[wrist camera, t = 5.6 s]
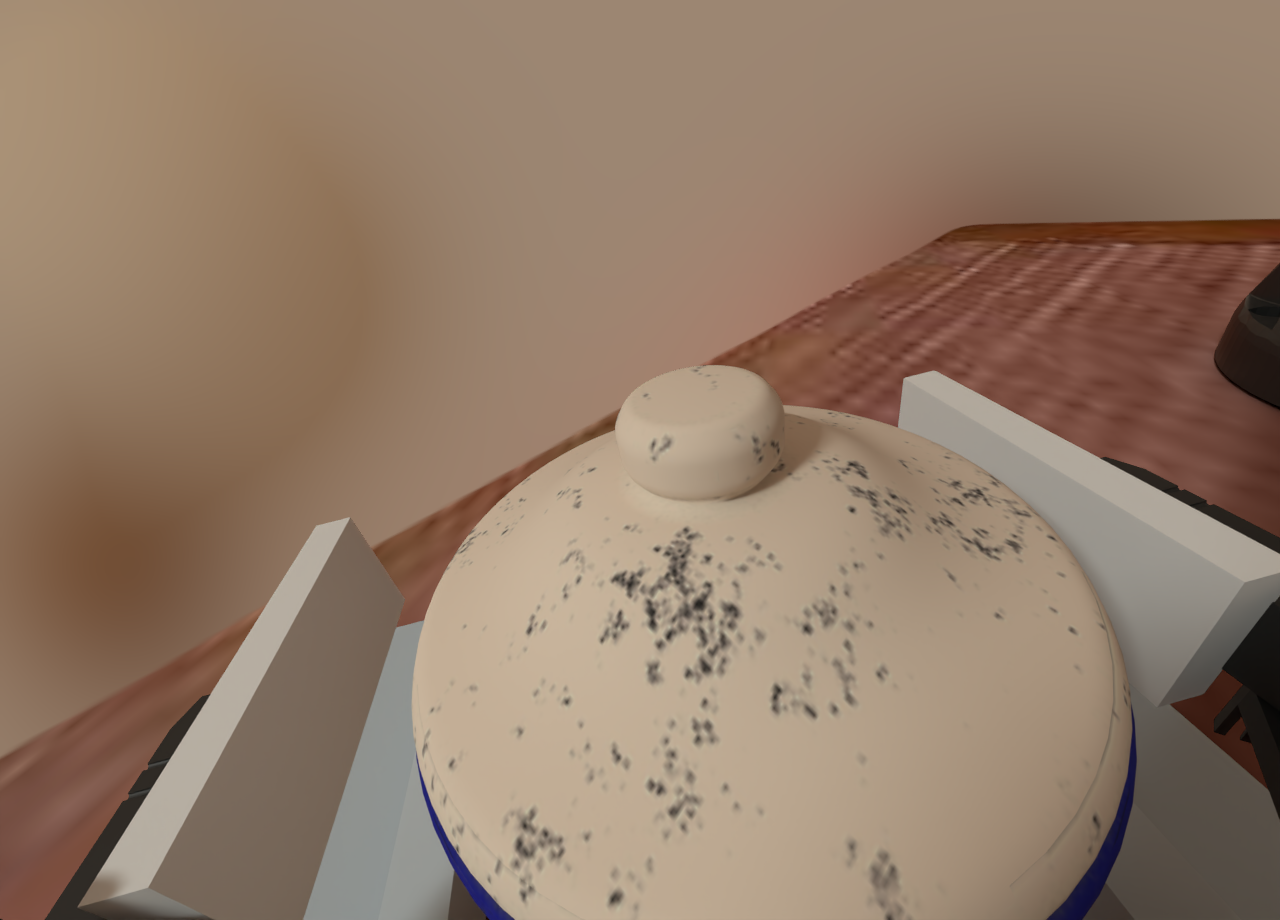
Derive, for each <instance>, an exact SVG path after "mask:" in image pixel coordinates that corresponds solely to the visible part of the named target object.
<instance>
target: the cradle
mask: <svg viewBox="0 0 1280 920" xmlns="http://www.w3.org/2000/svg"><path fill="white" fill-rule="evenodd" d="M423 624H424V621H420V622H417V623H413V624H409V625H405V626H401V627H397V628H396V629H395V632H394V636H393V639H392V642H391V645H390V648H389V651H388V654H387V658H386V661H385V664H384V667H383V670H382V673H381V676H380V679H379V683H378V686H377V689H376V692H375V695H374V698H373V701H372V705H371V708H370V711H369V714H368V717H367V720H366V723H365V727H364V730H363V733H362V736H361V739H360V742H359V745H358V749H357V752H356V755H355V758H354V761H353V764H352V767H351V771H350V774H349V777H348V780H347V783H346V786H345V789H344V793H343V796H342V799H341V802H340V805H339V808H338V811H337V815H336V818H335V821H334V824H333V827H332V830H331V833H330V837H329V840H328V843H327V846H326V849H325V852H324V855H323V859H322V862H321V865H320V868H319V871H318V874H317V877H316V881H315V884H314V887H313V890H312V893H311V896H310V899H309V903H308V906H307V909H306V912H305V915H304V918H303V920H486V915H485V914H484V913H483V911H482V910H481V909H480V908H479V907H478V905H477V904H476V903H475V902H474V900H473V899H472V897H471V895H470V894H469V892H468V891H467V889H466V888H465V886H464V884H463V883H462V881H461V880H460V878H459V877H458V875H457V873H456V872H455V870H454V869H453V867H452V865H451V864H450V861H449V859H448V857H447V855H446V853H445V851H444V849H443V846H442V844H441V842H440V840H439V838H438V836H437V834H436V831H435V829H434V827H433V824H432V820H431V817H430V814H429V811H428V808H427V805H426V802H425V798H424V795H423V792H422V786H421V781H420V776H419V770H418V765H417V760H416V747H415V741H414V736H413V721H412V706H411V705H412V685H413V673H414V667H415V660H416V654H417V648H418V643H419V638H420V635H421V631H422V627H423ZM1128 683H1129V682H1128ZM1129 688H1130V697H1131V704H1132V709H1133V714H1134V719H1135V734H1136V751H1137V767H1136V777H1135V787H1134V797H1133V805H1132V809H1131V813H1130V817H1129V820H1128V824H1127V828H1126V832H1125V835H1124V839H1123V843H1122V847H1121V850H1120V852H1119V854H1118V856H1117V859H1116V861H1115V863H1114V865H1113V867H1112V869H1111V872H1110V874H1109V876H1108V878H1107V880H1106V883H1105V885H1104V887H1103V889H1102V891H1101V893H1100V895H1099V897H1098V898H1097V899H1096V901H1095V902H1094V904H1093V905H1092V907H1091V908H1090V910H1089V911H1088V912H1087V914H1086V915H1085V917H1084V918H1083V920H1280V820H1279V817H1278V814H1277V812H1276V809H1275V806H1274V803H1273V801H1272V798H1271V795H1270V792H1269V790H1268V789H1267V788H1265V787H1264V786H1263V785H1262V784H1261V783H1260V782H1259V781H1257V780H1256V779H1255V778H1254V777H1253V776H1252V775H1250V774H1249V773H1248V772H1247V771H1246V770H1245V769H1244V768H1242V767H1241V766H1240V765H1239V764H1238V763H1237V762H1235V761H1234V760H1233V759H1232V758H1231V757H1230V756H1229V755H1227V754H1226V753H1225V752H1224V751H1223V750H1222V749H1220V748H1219V747H1218V746H1217V745H1216V744H1215V743H1214V742H1212V741H1211V740H1210V739H1209V738H1208V737H1207V736H1206V735H1204V734H1203V733H1202V732H1201V731H1200V730H1199V729H1197V728H1196V727H1195V726H1194V725H1193V724H1192V723H1191V722H1189V721H1188V720H1187V719H1186V718H1185V717H1184V716H1182V715H1181V714H1180V713H1179V712H1178V711H1177V710H1176V709H1174V708H1173V707H1172V706H1171V705H1170V704H1168V705H1164V706H1161V707H1156V706H1155V705H1154V704H1152V703H1151V702H1150V701H1149V700H1148V699H1147V698H1146V697H1145V696H1143V695H1142V694H1141V693H1140V692H1139V691H1138V690H1137V689H1136V688H1134V687H1133V686H1132V685H1131V684H1130V683H1129Z"/></svg>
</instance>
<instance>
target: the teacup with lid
mask: <svg viewBox="0 0 1280 920" xmlns="http://www.w3.org/2000/svg"><path fill="white" fill-rule="evenodd" d="M411 706H412V721H413V736H414V741H415V747H416V760H417V765H418V770H419V776H420V781H421V786H422V792H423V795H424V798H425V802H426V805H427V808H428V811H429V814H430V817H431V820H432V824H433V827H434V829H435V831H436V834H437V836H438V838H439V840H440V842H441V844H442V846H443V849H444V851H445V853H446V855H447V857H448V859H449V861H450V864H451V865H452V867H453V869H454V870H455V872H456V873H457V875H458V877H459V878H460V880H461V881H462V883H463V884H464V886H465V888H466V889H467V891H468V892H469V894H470V895H471V897H472V899H473V900H474V902H475V903H476V904H477V905H478V907H479V908H480V909H481V910H482V911H483V913H484V914H485V915H486V916H487V917H488V919H489V920H1083V918H1084V917H1085V915H1086V914H1087V912H1088V911H1089V910H1090V908H1091V907H1092V905H1093V904H1094V902H1095V901H1096V899H1097V898H1098V897H1099V895H1100V893H1101V891H1102V889H1103V887H1104V885H1105V883H1106V880H1107V878H1108V876H1109V874H1110V872H1111V869H1112V867H1113V865H1114V863H1115V861H1116V859H1117V856H1118V854H1119V852H1120V850H1121V847H1122V843H1123V839H1124V835H1125V832H1126V828H1127V824H1128V820H1129V817H1130V813H1131V809H1132V805H1133V797H1134V787H1135V777H1136V767H1137V751H1136V734H1135V719H1134V714H1133V709H1132V704H1131V697H1130V688H1129V683H1128V678H1127V673H1126V668H1125V663H1124V659H1123V654H1122V651H1121V648H1120V646H1119V643H1118V640H1117V637H1116V634H1115V631H1114V629H1113V626H1112V623H1111V620H1110V618H1109V617H1108V615H1107V612H1106V610H1105V608H1104V606H1103V604H1102V602H1101V600H1100V598H1099V596H1098V594H1097V592H1096V590H1095V588H1094V586H1093V584H1092V583H1091V581H1090V580H1089V578H1088V576H1087V575H1086V573H1085V572H1084V570H1083V569H1082V567H1081V566H1080V564H1079V563H1078V561H1077V560H1076V558H1075V556H1074V555H1073V553H1072V552H1071V550H1070V549H1069V548H1068V547H1067V545H1066V544H1065V543H1064V542H1063V541H1062V539H1061V538H1060V537H1059V536H1058V535H1057V533H1056V532H1055V531H1054V530H1053V528H1052V527H1051V526H1050V525H1049V524H1048V523H1047V522H1046V521H1045V520H1044V519H1043V518H1042V517H1041V516H1040V515H1039V514H1038V513H1037V512H1036V511H1035V510H1034V509H1033V508H1032V507H1031V506H1030V505H1029V504H1028V503H1026V502H1025V501H1024V500H1023V499H1022V498H1020V497H1019V496H1018V495H1017V494H1016V493H1015V492H1013V491H1012V490H1011V489H1010V488H1009V487H1007V486H1006V485H1005V484H1004V483H1002V482H1001V481H999V480H998V479H997V478H995V477H994V476H992V475H991V474H990V473H988V472H987V471H985V470H984V469H982V468H981V467H979V466H977V465H976V464H974V463H972V462H971V461H969V460H967V459H966V458H964V457H963V456H961V455H959V454H957V453H955V452H953V451H951V450H949V449H947V448H945V447H943V446H941V445H939V444H937V443H935V442H932V441H930V440H928V439H926V438H923V437H921V436H919V435H916V434H914V433H911V432H908V431H906V430H903V429H900V428H897V427H895V426H892V425H888V424H885V423H882V422H878V421H875V420H872V419H868V418H864V417H860V416H856V415H851V414H847V413H842V412H836V411H831V410H825V409H817V408H810V407H800V406H788V405H783V404H782V402H781V400H780V397H779V396H778V394H777V393H776V391H775V390H774V389H773V388H772V387H771V386H770V385H769V384H768V383H767V382H766V381H765V380H764V379H763V378H762V377H760V376H758V375H757V374H755V373H753V372H751V371H748V370H745V369H742V368H737V367H731V366H722V365H705V366H695V367H688V368H683V369H679V370H675V371H672V372H668V373H665V374H662V375H660V376H658V377H655V378H653V379H651V380H650V381H647V382H646V383H644V384H642V385H641V386H639V387H638V388H637V389H635V390H634V391H633V392H632V394H630V395H629V397H628V398H627V399H626V401H625V402H624V404H623V406H622V408H621V410H620V412H619V414H618V417H617V420H616V427H615V430H614V431H612V432H609V433H607V434H604V435H602V436H599V437H597V438H595V439H593V440H590V441H588V442H586V443H584V444H582V445H580V446H578V447H576V448H574V449H572V450H570V451H568V452H567V453H565V454H563V455H561V456H560V457H558V458H556V459H555V460H553V461H551V462H550V463H548V464H546V465H545V466H543V467H542V468H540V469H539V470H538V471H536V472H535V473H533V474H532V475H530V476H529V477H528V478H526V479H525V480H524V481H523V482H521V483H520V484H519V485H517V486H516V487H515V488H514V489H513V490H511V491H510V492H509V493H508V494H507V495H506V496H505V497H504V498H502V499H501V500H500V501H499V502H498V503H497V504H496V505H495V506H494V507H493V508H492V509H491V510H490V511H489V512H488V513H487V514H486V515H485V516H484V517H483V518H482V520H481V521H480V522H479V523H478V524H477V525H476V527H475V528H474V529H473V530H472V531H471V533H470V534H469V535H468V537H467V538H466V539H465V541H464V542H463V543H462V545H461V546H460V548H459V549H458V551H457V552H456V554H455V556H454V557H453V559H452V560H451V562H450V564H449V565H448V567H447V569H446V570H445V572H444V574H443V576H442V578H441V580H440V582H439V584H438V586H437V588H436V590H435V593H434V595H433V598H432V600H431V603H430V605H429V608H428V611H427V613H426V617H425V620H424V624H423V627H422V631H421V635H420V638H419V643H418V648H417V654H416V660H415V667H414V673H413V685H412V705H411Z"/></svg>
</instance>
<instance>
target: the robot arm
mask: <svg viewBox="0 0 1280 920" xmlns="http://www.w3.org/2000/svg"><path fill="white" fill-rule="evenodd" d="M1215 360H1216V363H1217V365H1218V367H1219V368H1220V370H1221V371H1222V372H1223V373H1224V374H1225V375H1226V376H1227V377H1228V378H1229V379H1231V380H1232V381H1233V382H1234V383H1236V384H1237V385H1239V386H1240V387H1242V388H1243V389H1245V390H1247V391H1248V392H1250V393H1252V394H1254V395H1256V396H1257V397H1259V398H1261V399H1263V400H1266V401H1268V402H1270V403H1272V404H1274V405H1276V406H1279V407H1280V263H1279V264H1278V265H1277V266H1276V267H1275V268H1274V269H1273V271H1272V272H1271V273H1270V274H1269V275H1268V276H1267V277H1266V278H1265V279H1264V280H1263V281H1262V282H1261V283H1260V284H1259V285H1258V286H1257V287H1256V288H1255V289H1254V290H1253V291H1252V292H1251V293H1250V294H1249V295H1248V296H1247V297H1246V298H1245V299H1244V300H1243V301H1242V302H1241V304H1240V305H1239V306H1238V308H1237V309H1236V310H1235V312H1234V314H1233V316H1232V318H1231V320H1230V322H1229V324H1228V326H1227V328H1226V330H1225V332H1224V334H1223V336H1222V338H1221V341H1220V343H1219V345H1218V347H1217V349H1216V351H1215ZM898 428H900V429H903V430H906V431H908V432H911V433H914V434H916V435H919V436H921V437H923V438H926V439H928V440H930V441H932V442H935V443H937V444H939V445H941V446H943V447H945V448H947V449H949V450H951V451H953V452H955V453H957V454H959V455H961V456H963V457H964V458H966V459H967V460H969V461H971V462H972V463H974V464H976V465H977V466H979V467H981V468H982V469H984V470H985V471H987V472H988V473H990V474H991V475H992V476H994V477H995V478H997V479H998V480H999V481H1001V482H1002V483H1004V484H1005V485H1006V486H1007V487H1009V488H1010V489H1011V490H1012V491H1013V492H1015V493H1016V494H1017V495H1018V496H1019V497H1020V498H1022V499H1023V500H1024V501H1025V502H1026V503H1028V504H1029V505H1030V506H1031V507H1032V508H1033V509H1034V510H1035V511H1036V512H1037V513H1038V514H1039V515H1040V516H1041V517H1042V518H1043V519H1044V520H1045V521H1046V522H1047V523H1048V524H1049V525H1050V526H1051V527H1052V528H1053V530H1054V531H1055V532H1056V533H1057V535H1058V536H1059V537H1060V538H1061V539H1062V541H1063V542H1064V543H1065V544H1066V545H1067V547H1068V548H1069V549H1070V550H1071V552H1072V553H1073V555H1074V556H1075V558H1076V560H1077V561H1078V563H1079V564H1080V566H1081V567H1082V569H1083V570H1084V572H1085V573H1086V575H1087V576H1088V578H1089V580H1090V581H1091V583H1092V584H1093V586H1094V588H1095V590H1096V592H1097V594H1098V596H1099V598H1100V600H1101V602H1102V604H1103V606H1104V608H1105V610H1106V612H1107V615H1108V617H1109V618H1110V620H1111V623H1112V626H1113V629H1114V631H1115V634H1116V637H1117V640H1118V643H1119V646H1120V648H1121V651H1122V654H1123V659H1124V663H1125V668H1126V673H1127V678H1128V682H1129V683H1130V684H1131V685H1132V686H1133V687H1134V688H1136V689H1137V690H1138V691H1139V692H1140V693H1141V694H1142V695H1143V696H1145V697H1146V698H1147V699H1148V700H1149V701H1150V702H1151V703H1152V704H1154V705H1155V706H1156V707H1161V706H1164V705H1168V704H1171V703H1174V702H1178V701H1181V700H1185V699H1188V698H1192V697H1195V696H1199V695H1202V694H1204V693H1205V692H1206V690H1207V689H1208V688H1209V686H1210V685H1211V684H1212V683H1213V681H1214V680H1215V679H1216V677H1217V676H1218V675H1219V674H1220V672H1221V671H1222V670H1225V671H1226V672H1227V673H1229V674H1230V675H1231V676H1233V677H1234V678H1235V679H1237V680H1238V681H1239V682H1241V683H1242V684H1243V686H1242V687H1241V688H1240V689H1239V690H1238V691H1237V693H1236V694H1235V695H1234V696H1233V697H1232V699H1231V700H1230V701H1229V702H1228V703H1227V705H1226V706H1225V707H1224V708H1223V709H1222V711H1221V712H1220V713H1219V714H1218V715H1217V717H1216V718H1215V719H1214V732H1215V733H1219V734H1222V735H1225V734H1226V733H1227V732H1228V731H1229V730H1230V729H1231V728H1232V726H1233V725H1234V724H1235V723H1236V722H1237V721H1238V720H1239V719H1240V717H1242V718H1243V721H1244V723H1245V726H1246V729H1245V731H1244V732H1243V734H1242V735H1241V737H1240V740H1242V741H1246V742H1249V743H1252V746H1253V748H1254V751H1255V754H1256V757H1257V759H1258V762H1259V765H1260V768H1261V770H1262V773H1263V776H1264V779H1265V781H1266V784H1267V787H1268V790H1269V792H1270V795H1271V798H1272V801H1273V803H1274V806H1275V809H1276V812H1277V814H1278V817H1279V820H1280V538H1279V537H1277V536H1275V535H1273V534H1271V533H1269V532H1267V531H1265V530H1263V529H1261V528H1259V527H1257V526H1255V525H1253V524H1252V523H1250V522H1248V521H1246V520H1244V519H1242V518H1240V517H1238V516H1236V515H1234V514H1232V513H1230V512H1228V511H1226V510H1224V509H1222V508H1220V507H1218V506H1216V505H1214V504H1213V505H1208V504H1207V502H1206V500H1204V499H1202V498H1201V497H1199V496H1197V495H1195V494H1193V493H1191V492H1189V491H1187V490H1179V489H1178V486H1177V485H1175V484H1173V483H1171V482H1169V481H1167V480H1165V479H1163V478H1161V477H1159V476H1157V475H1155V474H1153V473H1151V472H1149V471H1148V470H1146V469H1143V468H1140V467H1137V466H1133V465H1130V464H1127V463H1124V462H1120V461H1117V460H1114V459H1110V458H1107V457H1103V458H1098V457H1096V456H1094V455H1093V454H1091V453H1089V452H1087V451H1085V450H1083V449H1081V448H1079V447H1077V446H1076V445H1074V444H1072V443H1070V442H1068V441H1066V440H1064V439H1062V438H1061V437H1059V436H1057V435H1055V434H1053V433H1051V432H1049V431H1047V430H1045V429H1044V428H1042V427H1040V426H1038V425H1036V424H1034V423H1032V422H1030V421H1029V420H1027V419H1025V418H1023V417H1021V416H1019V415H1017V414H1015V413H1013V412H1012V411H1010V410H1008V409H1006V408H1004V407H1002V406H1000V405H998V404H997V403H995V402H993V401H991V400H989V399H987V398H985V397H983V396H982V395H980V394H978V393H976V392H974V391H972V390H970V389H968V388H966V387H965V386H963V385H961V384H959V383H957V382H955V381H953V380H951V379H950V378H948V377H946V376H944V375H942V374H940V373H938V372H936V371H930V372H926V373H922V374H918V375H914V376H910V377H906V378H904V380H903V389H902V398H901V406H900V415H899V423H898ZM404 601H405V599H404V597H403V596H402V594H401V593H400V591H399V590H398V588H397V587H396V585H395V584H394V582H393V581H392V579H391V578H390V576H389V575H388V573H387V572H386V570H385V569H384V567H383V566H382V564H381V563H380V561H379V560H378V558H377V557H376V555H375V554H374V552H373V551H372V549H371V548H370V546H369V545H368V543H367V542H366V540H365V538H364V537H363V535H362V534H361V532H360V531H359V529H358V528H357V526H356V525H355V523H354V522H353V520H352V519H351V518H346V519H342V520H338V521H334V522H330V523H326V524H322V525H318V526H316V527H315V529H314V530H313V532H312V534H311V535H310V537H309V538H308V540H307V542H306V543H305V545H304V546H303V548H302V550H301V551H300V553H299V555H298V556H297V558H296V559H295V561H294V562H293V564H292V566H291V567H290V569H289V570H288V572H287V574H286V575H285V577H284V578H283V580H282V582H281V583H280V585H279V586H278V588H277V590H276V591H275V593H274V594H273V596H272V597H271V599H270V601H269V602H268V604H267V605H266V607H265V609H264V610H263V612H262V613H261V615H260V617H259V618H258V620H257V621H256V623H255V625H254V626H253V628H252V629H251V631H250V633H249V634H248V636H247V637H246V639H245V641H244V642H243V644H242V645H241V647H240V649H239V650H238V652H237V653H236V655H235V656H234V658H233V660H232V661H231V663H230V664H229V666H228V668H227V669H226V671H225V672H224V674H223V676H222V677H221V679H220V680H219V682H218V684H217V685H216V687H215V688H214V690H213V692H212V693H211V694H210V695H206V696H202V697H201V698H200V699H199V700H198V701H197V702H196V703H195V704H194V705H193V706H192V707H191V708H190V709H189V710H188V711H187V713H186V714H185V715H184V716H183V717H182V718H181V719H180V720H179V721H178V722H177V723H176V724H175V725H174V726H173V727H172V728H171V729H170V731H169V732H168V734H167V735H166V737H165V738H164V740H163V741H162V743H161V744H160V746H159V747H158V749H157V750H156V752H155V753H154V755H153V756H152V758H151V759H150V761H149V762H148V765H149V767H148V769H147V770H144V771H143V772H142V773H141V775H140V776H139V778H138V779H137V781H136V782H135V784H134V785H133V787H132V788H131V790H130V791H129V793H128V794H129V798H128V800H126V801H123V802H122V803H121V805H120V806H119V808H118V809H117V811H116V812H115V814H114V816H113V817H112V819H111V820H110V822H109V823H108V825H107V826H106V828H105V829H104V831H103V832H102V834H101V835H100V837H99V838H98V840H97V841H96V843H95V844H94V846H93V847H92V849H91V850H90V852H89V853H88V855H87V856H86V858H85V859H84V861H83V863H82V864H81V866H80V867H79V869H78V870H77V872H76V873H75V875H74V876H73V878H72V879H71V881H70V882H69V884H68V885H67V887H66V888H65V890H64V891H63V893H62V894H61V896H60V897H59V899H58V900H57V902H56V903H55V905H54V907H53V908H52V910H51V911H50V913H49V914H48V916H47V917H46V919H45V920H303V918H304V915H305V912H306V909H307V906H308V903H309V899H310V896H311V893H312V890H313V887H314V884H315V881H316V877H317V874H318V871H319V868H320V865H321V862H322V859H323V855H324V852H325V849H326V846H327V843H328V840H329V837H330V833H331V830H332V827H333V824H334V821H335V818H336V815H337V811H338V808H339V805H340V802H341V799H342V796H343V793H344V789H345V786H346V783H347V780H348V777H349V774H350V771H351V767H352V764H353V761H354V758H355V755H356V752H357V749H358V745H359V742H360V739H361V736H362V733H363V730H364V727H365V723H366V720H367V717H368V714H369V711H370V708H371V705H372V701H373V698H374V695H375V692H376V689H377V686H378V683H379V679H380V676H381V673H382V670H383V667H384V664H385V661H386V658H387V654H388V651H389V648H390V645H391V642H392V639H393V636H394V632H395V629H396V626H397V623H398V620H399V617H400V614H401V610H402V607H403V604H404ZM0 920H2V919H0Z"/></svg>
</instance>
